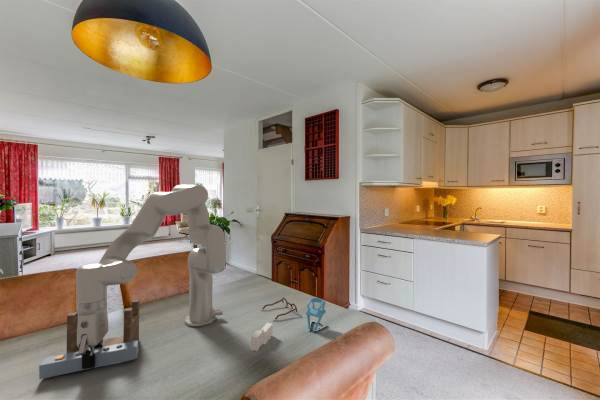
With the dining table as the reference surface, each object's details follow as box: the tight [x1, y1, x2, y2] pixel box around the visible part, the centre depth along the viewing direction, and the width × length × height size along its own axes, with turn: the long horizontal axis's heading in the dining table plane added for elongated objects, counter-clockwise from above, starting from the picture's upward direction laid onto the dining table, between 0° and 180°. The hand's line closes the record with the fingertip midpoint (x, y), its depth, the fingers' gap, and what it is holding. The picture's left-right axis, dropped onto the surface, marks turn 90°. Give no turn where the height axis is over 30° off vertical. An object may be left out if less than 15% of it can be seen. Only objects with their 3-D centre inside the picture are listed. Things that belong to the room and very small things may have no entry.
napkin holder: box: [250, 322, 274, 352], centre depth 100 cm, size 15×11×6 cm
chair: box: [305, 297, 327, 332], centre depth 113 cm, size 8×8×12 cm
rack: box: [66, 299, 140, 354], centre depth 93 cm, size 18×10×15 cm, turn 106°
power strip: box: [38, 340, 139, 380], centre depth 83 cm, size 24×4×4 cm, turn 114°
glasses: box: [261, 297, 298, 320], centre depth 127 cm, size 13×13×5 cm
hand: (92, 361), depth 83 cm, fingers closed on power strip, 4 cm apart
